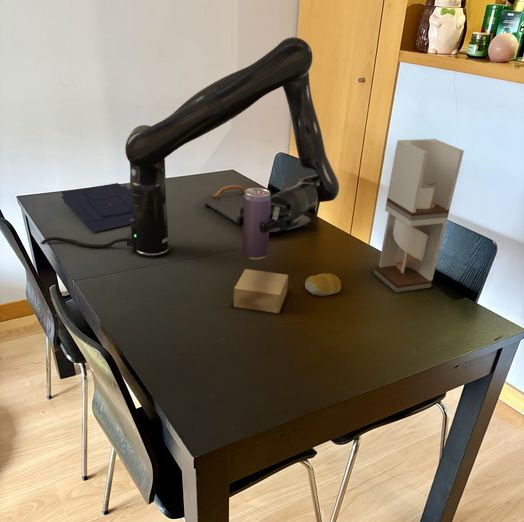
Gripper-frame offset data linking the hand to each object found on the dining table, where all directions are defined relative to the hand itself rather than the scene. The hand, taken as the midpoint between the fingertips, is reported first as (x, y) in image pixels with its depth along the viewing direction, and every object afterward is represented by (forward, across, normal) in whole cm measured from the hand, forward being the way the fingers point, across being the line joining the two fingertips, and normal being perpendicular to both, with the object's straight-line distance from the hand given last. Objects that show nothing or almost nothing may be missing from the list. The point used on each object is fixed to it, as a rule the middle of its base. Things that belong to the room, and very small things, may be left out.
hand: (250, 225), depth 122 cm
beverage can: (-2, 0, +8) cm, 9 cm away
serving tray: (-50, -31, +20) cm, 62 cm away
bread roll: (-17, +12, +20) cm, 29 cm away
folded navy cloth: (-24, -70, +20) cm, 77 cm away
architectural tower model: (-35, +26, +20) cm, 48 cm away
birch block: (-3, +2, +20) cm, 20 cm away
